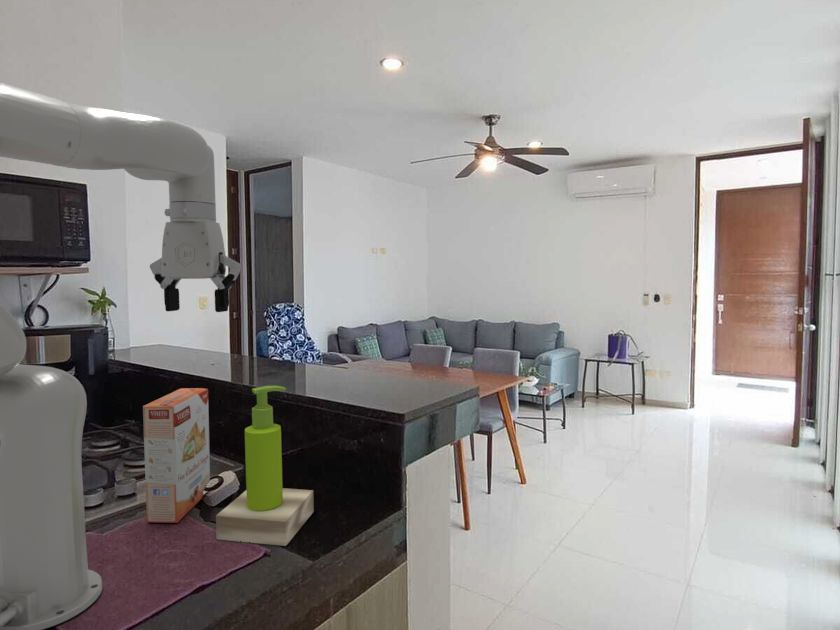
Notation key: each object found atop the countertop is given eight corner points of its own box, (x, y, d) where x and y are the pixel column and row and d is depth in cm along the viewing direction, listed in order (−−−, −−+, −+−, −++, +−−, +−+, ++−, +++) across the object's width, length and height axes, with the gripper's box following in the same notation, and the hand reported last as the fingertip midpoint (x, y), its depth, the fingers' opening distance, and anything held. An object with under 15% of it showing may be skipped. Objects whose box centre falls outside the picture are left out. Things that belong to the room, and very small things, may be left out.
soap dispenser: (293, 504, 90) (290, 387, 88) (251, 513, 86) (248, 392, 85) (282, 492, 95) (280, 382, 93) (243, 501, 91) (239, 386, 90)
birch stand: (285, 545, 84) (285, 521, 84) (216, 539, 86) (215, 515, 86) (313, 511, 96) (313, 490, 95) (252, 506, 98) (251, 485, 98)
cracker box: (180, 524, 91) (174, 405, 89) (145, 524, 91) (139, 405, 89) (213, 490, 105) (209, 386, 103) (183, 490, 105) (178, 386, 103)
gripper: (134, 213, 91) (139, 312, 93) (227, 211, 88) (230, 313, 90) (163, 217, 99) (167, 308, 100) (249, 216, 96) (251, 310, 97)
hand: (197, 311), depth 95 cm, fingers open, 9 cm apart
